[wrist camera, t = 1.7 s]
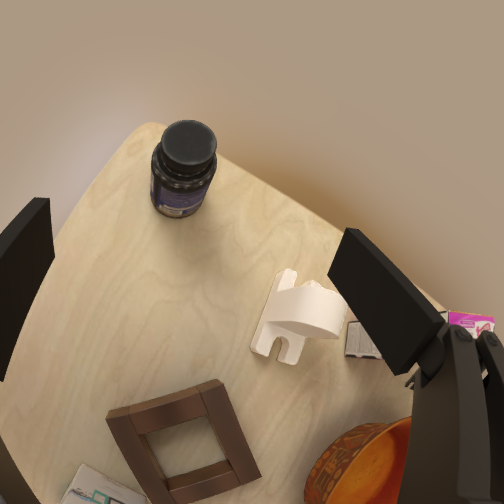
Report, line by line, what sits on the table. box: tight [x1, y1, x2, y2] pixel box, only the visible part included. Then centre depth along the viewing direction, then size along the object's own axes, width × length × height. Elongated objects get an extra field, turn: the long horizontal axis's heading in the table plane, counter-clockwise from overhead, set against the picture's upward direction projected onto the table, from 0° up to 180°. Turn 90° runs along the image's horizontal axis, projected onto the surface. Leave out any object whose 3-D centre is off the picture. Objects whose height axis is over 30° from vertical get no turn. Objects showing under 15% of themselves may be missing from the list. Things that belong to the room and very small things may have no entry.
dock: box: [106, 379, 262, 504], centre depth 25 cm, size 12×12×3 cm
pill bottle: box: [150, 120, 217, 218], centre depth 28 cm, size 6×6×11 cm
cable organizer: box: [250, 269, 348, 365], centre depth 29 cm, size 5×10×10 cm, turn 158°
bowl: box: [304, 416, 412, 504], centre depth 27 cm, size 21×21×10 cm
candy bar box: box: [345, 310, 495, 360], centre depth 30 cm, size 11×5×16 cm, turn 82°
